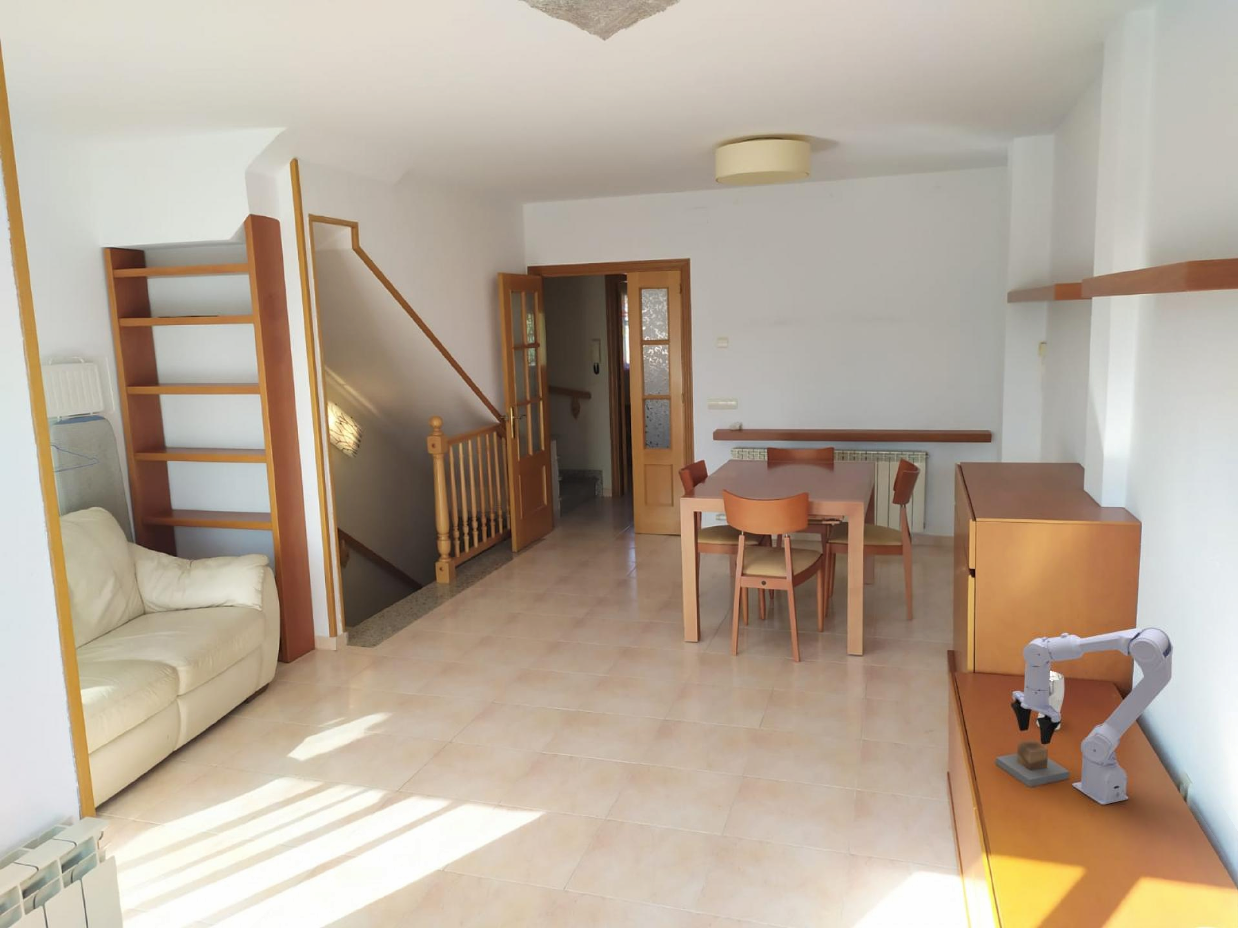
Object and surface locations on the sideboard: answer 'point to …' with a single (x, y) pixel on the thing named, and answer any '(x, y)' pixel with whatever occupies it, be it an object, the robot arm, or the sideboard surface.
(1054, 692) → the beer glass
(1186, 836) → the sideboard surface
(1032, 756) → the walnut block
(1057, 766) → the gray slab
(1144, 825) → the sideboard surface
